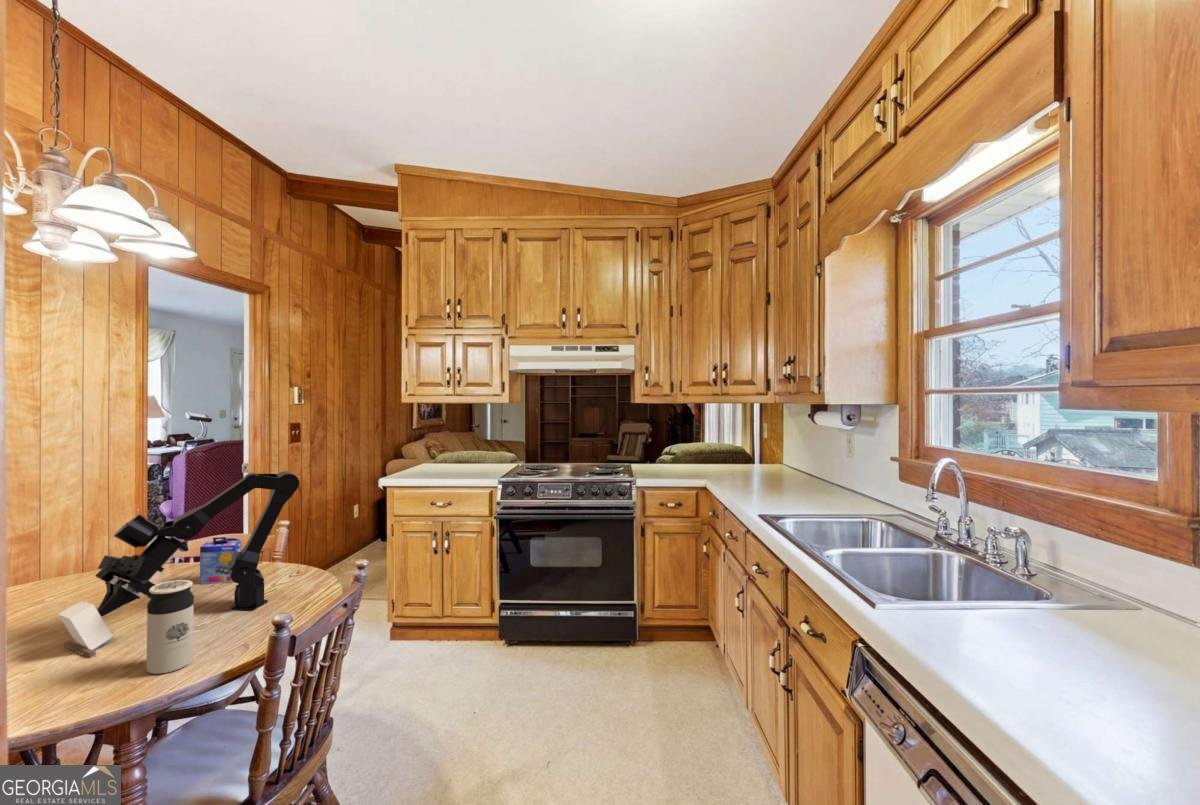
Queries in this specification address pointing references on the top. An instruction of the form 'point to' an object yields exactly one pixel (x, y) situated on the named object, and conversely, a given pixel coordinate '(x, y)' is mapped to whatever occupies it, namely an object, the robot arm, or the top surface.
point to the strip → (79, 648)
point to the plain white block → (86, 625)
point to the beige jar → (170, 626)
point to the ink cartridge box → (217, 560)
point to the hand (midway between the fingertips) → (97, 616)
